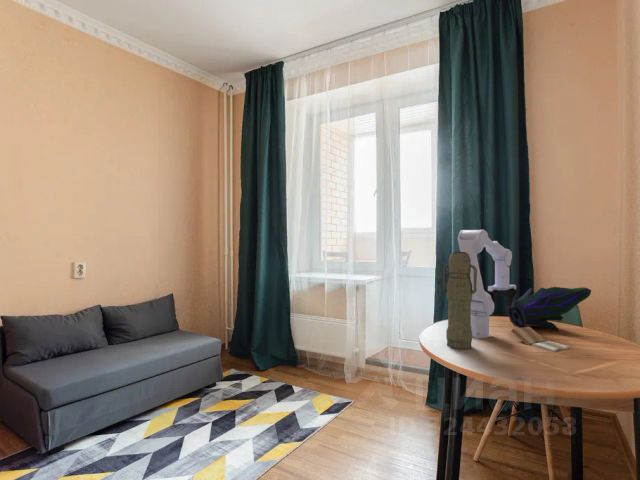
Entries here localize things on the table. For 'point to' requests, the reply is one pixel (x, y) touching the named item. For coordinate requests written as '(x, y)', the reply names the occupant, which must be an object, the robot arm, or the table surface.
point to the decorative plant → (545, 305)
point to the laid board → (550, 346)
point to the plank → (528, 335)
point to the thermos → (459, 300)
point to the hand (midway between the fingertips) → (502, 306)
